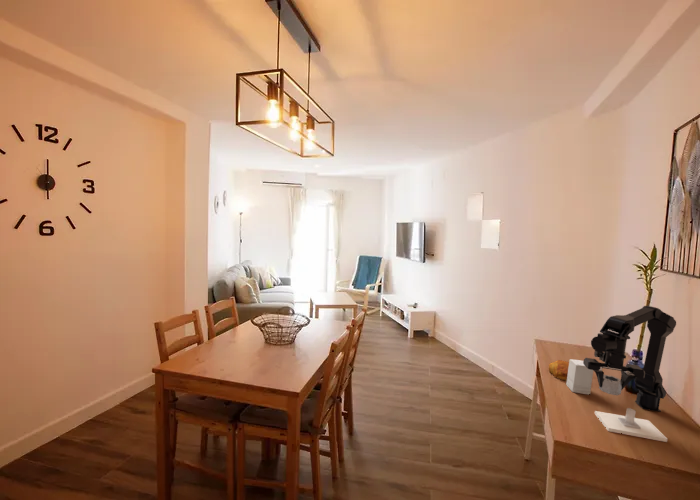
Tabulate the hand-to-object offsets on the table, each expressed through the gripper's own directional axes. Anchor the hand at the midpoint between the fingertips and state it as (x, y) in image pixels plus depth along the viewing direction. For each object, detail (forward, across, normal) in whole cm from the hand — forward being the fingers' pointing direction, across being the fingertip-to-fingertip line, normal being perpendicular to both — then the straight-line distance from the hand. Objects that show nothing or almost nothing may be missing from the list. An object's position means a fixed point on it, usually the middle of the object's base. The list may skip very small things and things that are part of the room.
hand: (610, 388), depth 139 cm
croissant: (+11, +5, -34) cm, 36 cm away
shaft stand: (+11, -5, +7) cm, 14 cm away
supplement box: (+11, +4, -20) cm, 23 cm away
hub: (+1, 0, 0) cm, 1 cm away
